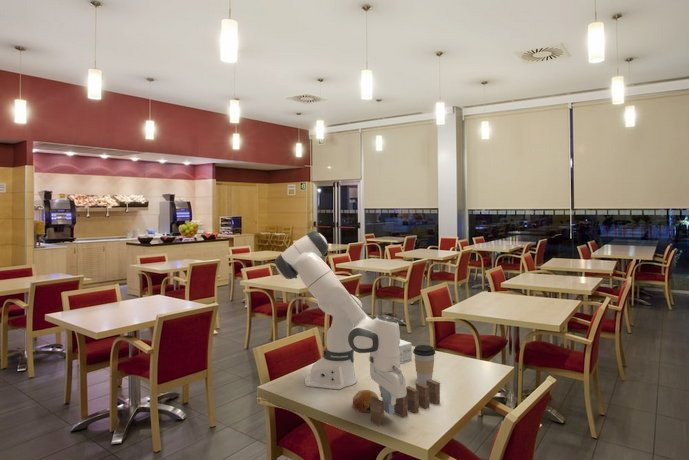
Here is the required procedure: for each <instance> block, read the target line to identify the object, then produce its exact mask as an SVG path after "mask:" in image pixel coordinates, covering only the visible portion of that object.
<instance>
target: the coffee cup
mask: <svg viewBox="0 0 689 460" xmlns="http://www.w3.org/2000/svg"><path fill="white" fill-rule="evenodd" d="M412 354H414V363H415V364H414V365H415V366H414V367H415V371H416V372H415V373H416V377H417V383H419V382H420V383H422V384H425V385H427V383H426V380H429V379H431V380H433V374H434V367H435V365H434V363H435V355H436V350H435V348H434V347H433V346H432V345H427V344H419V345H416V346H414V348H413V350H412Z"/></svg>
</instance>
